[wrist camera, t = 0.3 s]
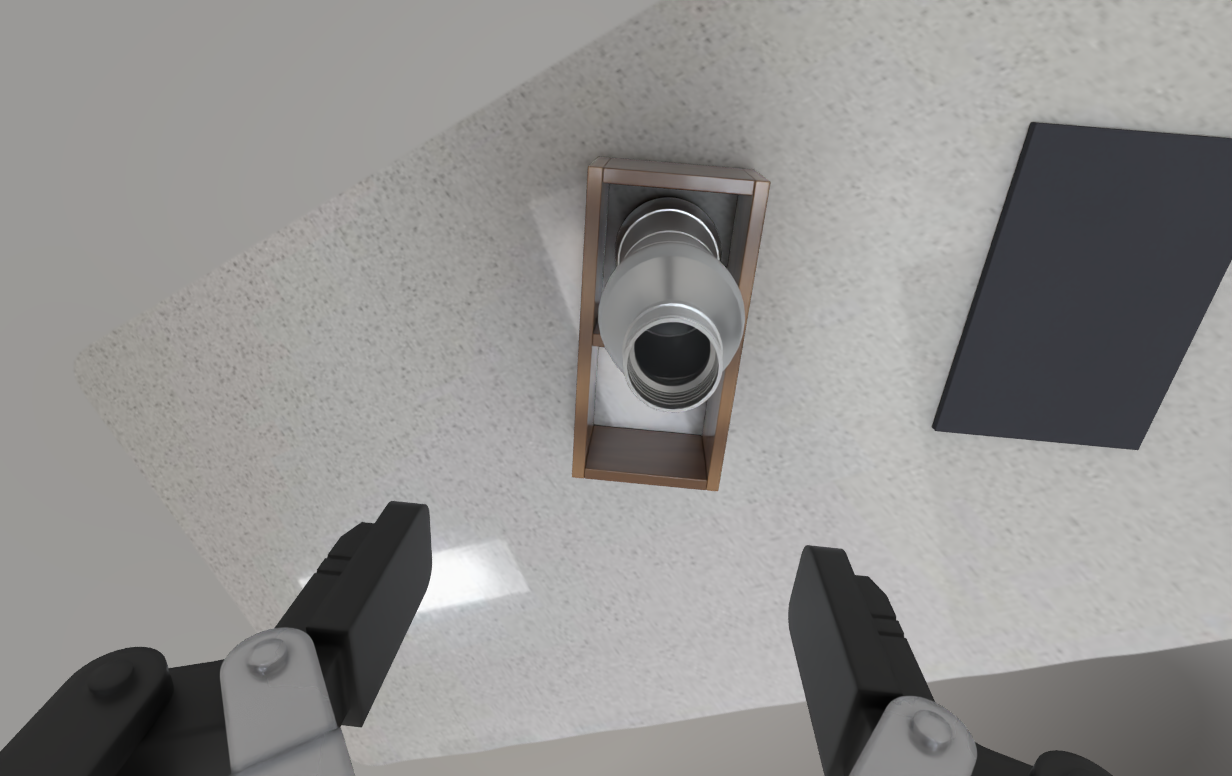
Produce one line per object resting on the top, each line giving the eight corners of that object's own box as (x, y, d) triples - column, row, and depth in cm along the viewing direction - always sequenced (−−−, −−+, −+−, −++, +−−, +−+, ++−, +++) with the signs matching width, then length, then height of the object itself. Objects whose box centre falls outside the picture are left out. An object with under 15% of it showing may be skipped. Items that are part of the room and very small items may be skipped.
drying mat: (1030, 122, 36) (1036, 122, 36) (1280, 142, 36) (1289, 143, 35) (931, 427, 45) (935, 431, 44) (1132, 446, 44) (1138, 450, 44)
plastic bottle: (707, 179, 39) (747, 252, 21) (726, 284, 41) (777, 431, 23) (606, 205, 40) (559, 296, 22) (631, 305, 42) (608, 462, 24)
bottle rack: (598, 156, 38) (587, 165, 33) (755, 169, 38) (770, 181, 33) (582, 433, 47) (571, 477, 41) (711, 445, 46) (718, 491, 41)
